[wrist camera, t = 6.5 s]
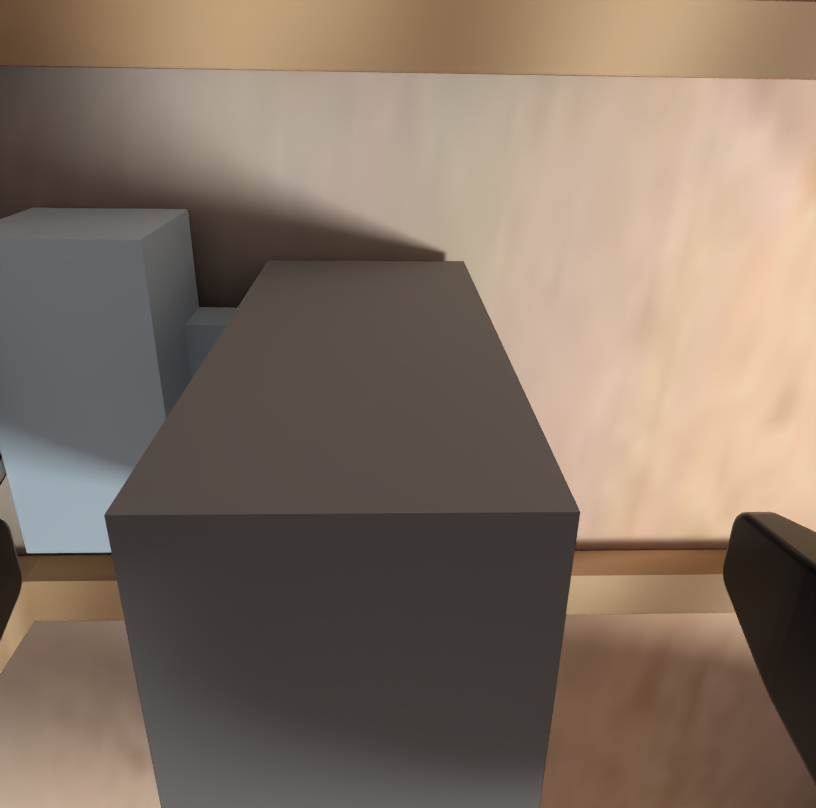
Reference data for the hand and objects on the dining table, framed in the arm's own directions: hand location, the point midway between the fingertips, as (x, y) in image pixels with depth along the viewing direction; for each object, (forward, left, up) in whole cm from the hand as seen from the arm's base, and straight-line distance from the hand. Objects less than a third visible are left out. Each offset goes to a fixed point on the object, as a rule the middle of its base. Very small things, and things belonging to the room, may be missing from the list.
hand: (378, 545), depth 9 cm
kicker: (+3, 0, -7) cm, 8 cm away
